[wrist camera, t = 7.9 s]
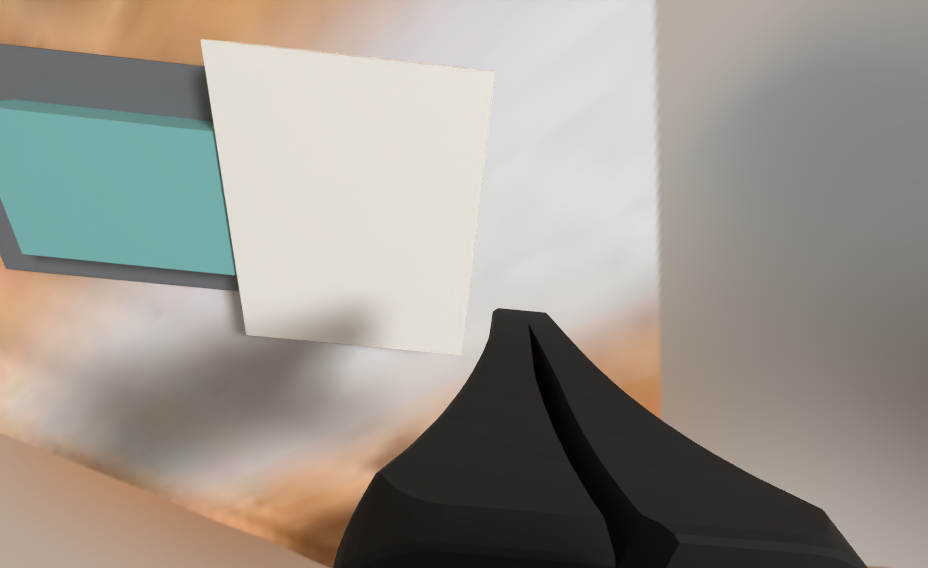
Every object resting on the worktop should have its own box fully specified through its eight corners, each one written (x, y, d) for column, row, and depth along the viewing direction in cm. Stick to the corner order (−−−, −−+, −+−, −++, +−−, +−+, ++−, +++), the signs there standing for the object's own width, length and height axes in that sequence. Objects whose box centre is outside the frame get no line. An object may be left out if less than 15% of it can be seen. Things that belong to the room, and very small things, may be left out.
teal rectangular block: (254, 256, 21) (234, 275, 19) (61, 237, 21) (22, 254, 19) (238, 124, 18) (212, 131, 16) (14, 99, 18) (-37, 104, 16)
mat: (256, 289, 22) (253, 292, 22) (11, 266, 22) (6, 268, 21) (227, 68, 17) (223, 69, 17) (-84, 34, 17) (-93, 34, 17)
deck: (462, 326, 23) (461, 355, 21) (268, 307, 22) (246, 335, 20) (492, 70, 17) (495, 72, 15) (236, 41, 17) (200, 39, 15)
